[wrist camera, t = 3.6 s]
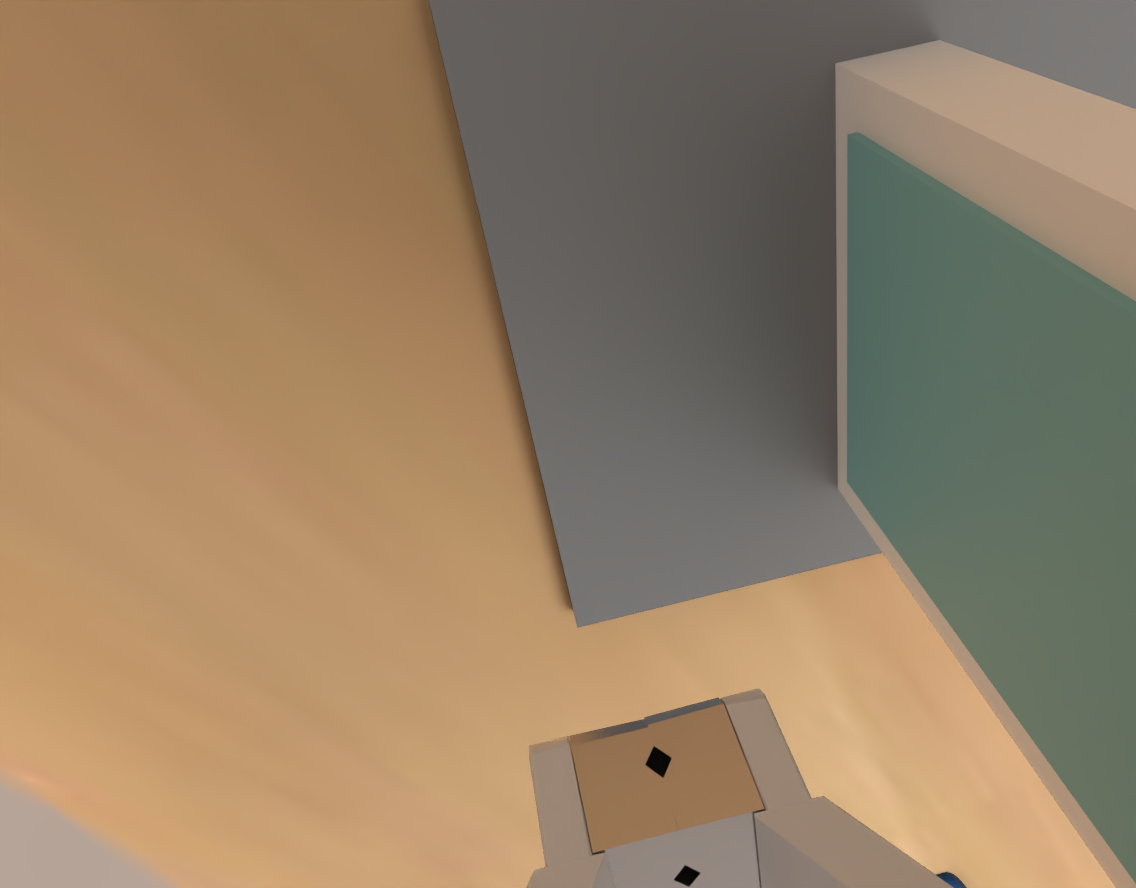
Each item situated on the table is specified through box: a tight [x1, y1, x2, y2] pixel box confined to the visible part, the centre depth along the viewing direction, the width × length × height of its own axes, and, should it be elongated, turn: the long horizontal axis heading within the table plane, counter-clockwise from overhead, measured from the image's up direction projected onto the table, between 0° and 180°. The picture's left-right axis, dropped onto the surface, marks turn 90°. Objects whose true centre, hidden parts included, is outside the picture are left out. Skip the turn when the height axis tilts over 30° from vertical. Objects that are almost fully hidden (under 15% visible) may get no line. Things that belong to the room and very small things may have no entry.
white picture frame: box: [835, 40, 1136, 888], centre depth 15 cm, size 10×2×12 cm, turn 10°
